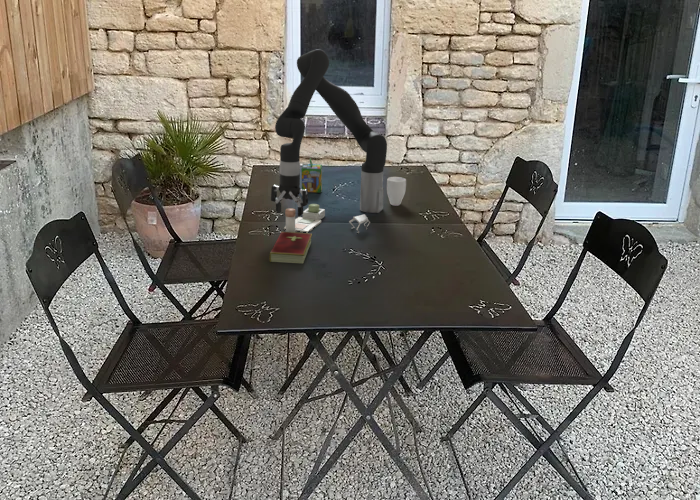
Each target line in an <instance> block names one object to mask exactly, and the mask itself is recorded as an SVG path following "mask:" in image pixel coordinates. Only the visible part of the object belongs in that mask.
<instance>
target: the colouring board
mask: <svg viewBox="0 0 700 500" xmlns="http://www.w3.org/2000/svg"><path fill="white" fill-rule="evenodd" d="M321 223H322V219H321V220H316V219H309V218H303V216H302V217H301V216H297V217H296V218H295V232H297V231H300V232H299V233H303V232H306V233H308V232H309V231H310V232H311V231H313V230H314V229H315V228H316V227H317V226H318V225H320V224H321ZM314 227H315V228H314ZM313 228H314V229H313ZM283 229H284V230H285V229H286V225H285V226H284V228H283ZM310 232H309V233H310Z"/></svg>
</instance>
